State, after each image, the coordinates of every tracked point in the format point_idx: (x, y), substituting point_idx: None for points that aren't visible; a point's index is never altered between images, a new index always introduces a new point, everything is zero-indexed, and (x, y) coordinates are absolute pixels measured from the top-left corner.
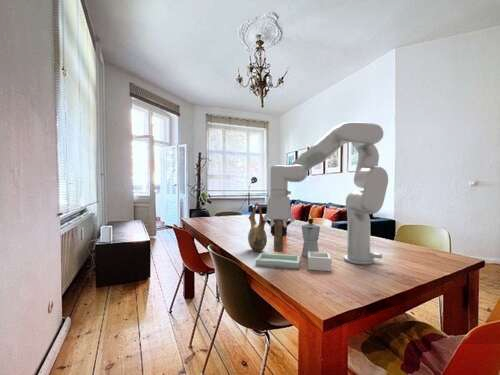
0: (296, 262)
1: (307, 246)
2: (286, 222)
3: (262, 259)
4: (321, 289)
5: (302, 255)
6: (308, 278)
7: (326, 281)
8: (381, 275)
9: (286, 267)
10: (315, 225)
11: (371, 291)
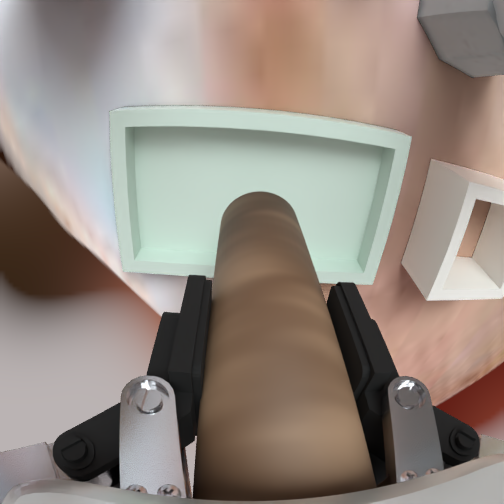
0: (360, 280)
1: (492, 55)
2: (425, 441)
3: (145, 171)
4: None
5: (424, 24)
6: None
7: (413, 352)
8: None
9: None
10: None
11: (472, 369)
